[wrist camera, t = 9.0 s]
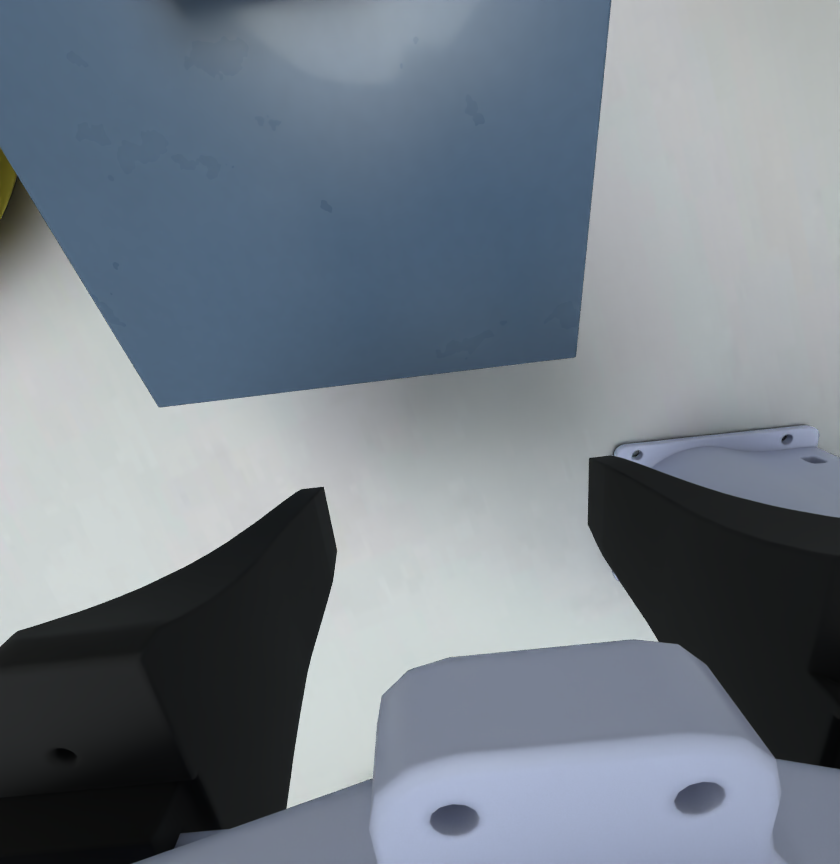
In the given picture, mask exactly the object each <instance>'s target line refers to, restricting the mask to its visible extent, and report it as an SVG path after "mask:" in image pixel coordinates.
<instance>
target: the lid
mask: <svg viewBox="0 0 840 864" xmlns="http://www.w3.org/2000/svg"><path fill="white" fill-rule="evenodd" d="M610 8H611V0H0V148H1V150H2V151H3V153H4V155H5V156H6V158H7V160H8V161H9V163H10V164H11V166H12V168H13V169H14V171H15V173H16V174H17V176H18V178H19V179H20V181H21V182H22V184H23V186H24V187H25V189H26V191H27V192H28V194H29V196H30V197H31V199H32V200H33V202H34V204H35V205H36V207H37V209H38V210H39V212H40V214H41V215H42V217H43V219H44V220H45V222H46V223H47V225H48V227H49V228H50V230H51V232H52V233H53V235H54V237H55V238H56V240H57V241H58V243H59V245H60V246H61V248H62V250H63V251H64V253H65V255H66V256H67V258H68V259H69V261H70V263H71V264H72V266H73V268H74V269H75V271H76V273H77V274H78V276H79V278H80V279H81V281H82V282H83V284H84V286H85V287H86V289H87V291H88V292H89V294H90V296H91V297H92V299H93V300H94V302H95V304H96V305H97V307H98V309H99V310H100V312H101V314H102V315H103V317H104V318H105V320H106V322H107V323H108V325H109V327H110V328H111V330H112V332H113V333H114V335H115V336H116V338H117V340H118V341H119V343H120V345H121V346H122V348H123V350H124V351H125V353H126V355H127V356H128V358H129V359H130V361H131V363H132V364H133V366H134V368H135V369H136V371H137V373H138V374H139V376H140V377H141V379H142V381H143V382H144V384H145V386H146V387H147V389H148V391H149V392H150V394H151V395H152V397H153V399H154V400H155V402H156V404H157V405H158V407H168V406H176V405H184V404H192V403H201V402H209V401H217V400H226V399H234V398H242V397H251V396H259V395H267V394H275V393H284V392H292V391H300V390H309V389H317V388H325V387H333V386H342V385H350V384H358V383H367V382H375V381H383V380H392V379H400V378H408V377H416V376H425V375H433V374H441V373H450V372H458V371H466V370H475V369H483V368H491V367H499V366H508V365H516V364H524V363H533V362H541V361H549V360H558V359H566V358H574V357H576V351H577V341H578V331H579V321H580V311H581V301H582V291H583V280H584V270H585V260H586V250H587V240H588V230H589V220H590V210H591V200H592V190H593V179H594V169H595V159H596V149H597V139H598V129H599V119H600V109H601V99H602V89H603V78H604V68H605V58H606V48H607V38H608V28H609V18H610Z"/></svg>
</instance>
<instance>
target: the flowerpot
mask: <svg viewBox="0 0 840 864" xmlns="http://www.w3.org/2000/svg"><path fill="white" fill-rule="evenodd" d="M16 178H17V174H16V173H15V171H14V169H13V168H12V166H11V164H10V163H9V161H8V160H7V158H6V156H5V155H4V153H3V151H2V150H1V148H0V219H1V217H2V215H3V213H4V211H5V209H6V207H7V204H8V201H9V199H10V196H11V194H12V191H13V188H14V185H15V181H16Z"/></svg>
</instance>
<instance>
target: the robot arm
mask: <svg viewBox="0 0 840 864" xmlns="http://www.w3.org/2000/svg"><path fill="white" fill-rule="evenodd" d="M785 435H787V437H786V439H785V440H784V441H781V440H782V437H784V436H785ZM818 440H819V431H818V429H816V428H814V427H812V426H809V425H801V426H791V427H782V428H773V429H763V430H754V431H744V432H735V433H726V434H716V435H707V436H697V437H688V438H679V439H669V440H660V441H650V442H641V443H632V444H624V445H620V446H619V447H618V448H617V449H616V450H615V453H614V456H603V457H594V458H589V492H588V526H589V528H590V530H591V532H592V534H593V537H594V539H595V541H596V543H597V545H598V547H599V549H600V551H601V553H602V555H603V557H604V558H605V560H606V561H607V563H608V564H609V566H610V568H611V569H612V573H613V576H614V577H615V579H616V580H617V581H620V583H621V584H622V586H623V587H624V589H625V590H626V592H627V593H628V595H629V596H630V597H631V599H632V600H633V602H634V603H635V605H636V606H637V608H638V609H639V611H640V612H641V614H642V615H643V617H644V618H645V620H646V621H647V623H648V625H649V626H650V628H651V629H652V631H653V633H654V634H655V636H656V638H657V639H658V641H659V642H653V641H643V640H622V641H612V642H601V643H591V644H581V645H571V646H560V647H550V648H540V649H530V650H520V651H509V652H499V653H489V654H479V655H469V656H458V657H449V658H445V659H442V660H439V661H436V662H433V663H429V664H426V665H423V666H420V667H416V668H413V669H411V670H408V671H407V672H406V673H405V674H404V675H403V676H402V677H401V678H400V679H399V680H398V681H397V682H396V683H395V684H394V685H393V686H392V687H391V688H389V689H388V690H387V691H386V692H385V693H384V694H383V695H382V698H381V704H380V711H379V717H378V723H377V732H376V745H375V758H374V771H373V779H370V780H367V781H364V782H361V783H359V784H356V785H353V786H350V787H347V788H344V789H342V790H339V791H336V792H333V793H330V794H327V795H325V796H322V797H319V798H316V799H313V800H310V801H308V802H305V803H302V804H299V805H296V806H293V807H291V808H288V809H286V808H287V800H288V793H289V786H290V778H291V771H292V763H293V756H294V750H295V743H296V737H297V731H298V724H299V718H300V712H301V706H302V700H303V695H304V689H305V683H306V678H307V672H308V668H309V664H310V660H311V656H312V652H313V649H314V646H315V642H316V639H317V635H318V632H319V628H320V625H321V622H322V618H323V615H324V611H325V608H326V604H327V601H328V597H329V594H330V590H331V586H332V583H333V577H334V570H335V563H336V554H337V548H336V543H335V538H334V534H333V529H332V524H331V520H330V515H329V510H328V505H327V501H326V496H325V491H324V487H318V488H309V489H301V490H299V491H298V492H296V493H295V494H293V495H292V496H290V497H289V498H287V499H286V500H285V501H283V502H282V503H281V504H279V505H278V506H277V507H276V508H274V509H273V510H272V511H270V512H269V513H268V514H266V515H265V516H264V517H262V518H261V519H260V520H258V521H257V522H256V523H254V524H253V525H251V526H250V527H248V528H247V529H246V530H244V531H243V532H241V533H240V534H238V535H237V536H235V537H234V538H233V539H231V540H230V541H228V542H227V543H225V544H224V545H222V546H220V547H219V548H217V549H216V550H214V551H212V552H211V553H209V554H207V555H205V556H204V557H202V558H200V559H198V560H197V561H195V562H193V563H191V564H189V565H188V566H186V567H184V568H182V569H180V570H178V571H175V572H173V573H171V574H169V575H167V576H165V577H163V578H161V579H159V580H157V581H155V582H153V583H151V584H148V585H146V586H144V587H142V588H139V589H137V590H135V591H132V592H130V593H127V594H125V595H123V596H120V597H118V598H115V599H112V600H110V601H107V602H105V603H102V604H99V605H97V606H94V607H91V608H88V609H86V610H83V611H80V612H77V613H74V614H71V615H68V616H64V617H61V618H58V619H55V620H52V621H49V622H46V623H43V624H40V625H36V626H33V627H30V628H27V629H23V630H20V631H17V632H16V633H15V634H13V635H12V636H11V637H10V638H9V639H8V640H7V641H6V642H5V643H4V644H3V645H2V646H1V647H0V864H840V457H837V456H835V455H833V454H831V453H828V452H826V451H824V450H822V449H819V448H817V446H818ZM636 450H639V451H640V452H639V454H638V455H637V456H636V457H632V454H633V452H634V451H636Z"/></svg>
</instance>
